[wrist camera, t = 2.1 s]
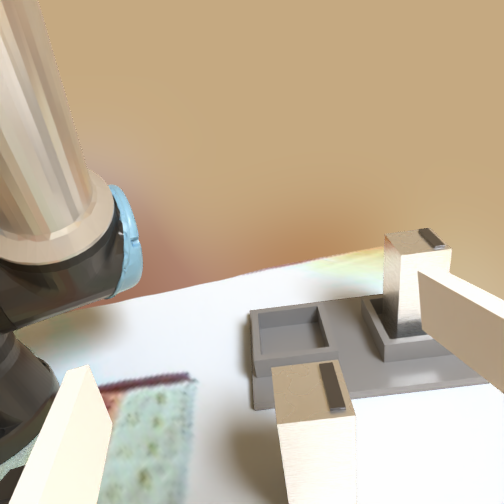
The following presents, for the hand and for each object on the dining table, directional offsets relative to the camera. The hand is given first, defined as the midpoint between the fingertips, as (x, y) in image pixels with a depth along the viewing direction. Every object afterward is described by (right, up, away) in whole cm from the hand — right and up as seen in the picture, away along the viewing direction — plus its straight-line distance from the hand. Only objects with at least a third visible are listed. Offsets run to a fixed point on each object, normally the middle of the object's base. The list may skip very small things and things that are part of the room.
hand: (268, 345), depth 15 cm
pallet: (+11, -8, +32) cm, 35 cm away
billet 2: (+18, -6, +32) cm, 37 cm away
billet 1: (+5, -16, +18) cm, 25 cm away
